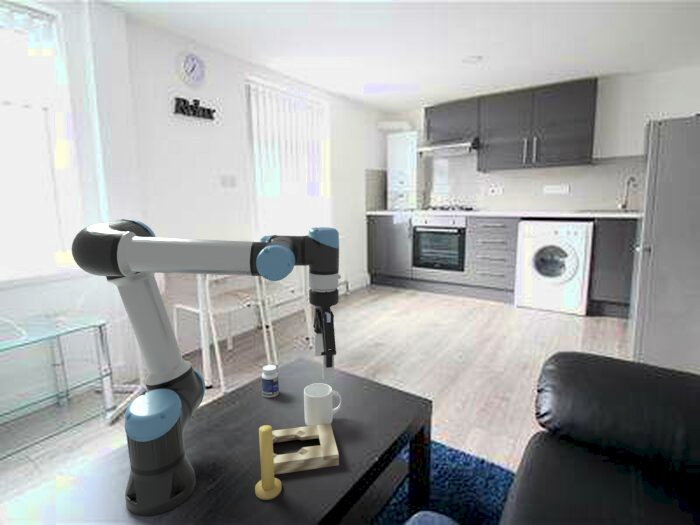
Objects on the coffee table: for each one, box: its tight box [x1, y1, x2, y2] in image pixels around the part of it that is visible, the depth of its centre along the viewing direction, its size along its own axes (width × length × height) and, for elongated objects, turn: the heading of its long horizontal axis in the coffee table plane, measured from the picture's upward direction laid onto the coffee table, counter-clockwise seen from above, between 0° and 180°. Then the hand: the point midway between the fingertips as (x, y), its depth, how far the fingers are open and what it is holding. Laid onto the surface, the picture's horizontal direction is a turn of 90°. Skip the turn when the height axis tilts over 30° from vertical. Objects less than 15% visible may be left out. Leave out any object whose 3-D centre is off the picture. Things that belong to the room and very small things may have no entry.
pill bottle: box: [261, 364, 280, 398], centre depth 140 cm, size 6×6×10 cm
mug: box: [303, 382, 342, 426], centre depth 124 cm, size 9×12×11 cm
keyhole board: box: [272, 423, 340, 476], centre depth 109 cm, size 19×14×3 cm
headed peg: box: [254, 424, 282, 501], centre depth 95 cm, size 6×6×16 cm
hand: (323, 366), depth 106 cm, fingers open, 13 cm apart
